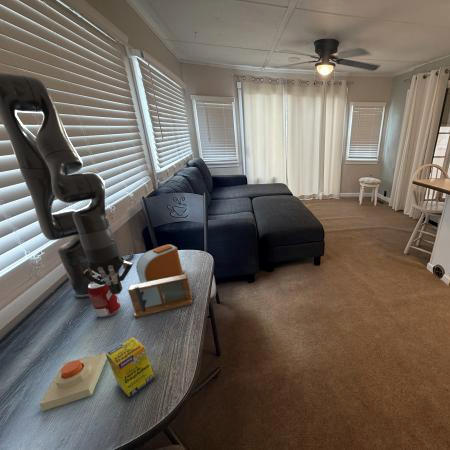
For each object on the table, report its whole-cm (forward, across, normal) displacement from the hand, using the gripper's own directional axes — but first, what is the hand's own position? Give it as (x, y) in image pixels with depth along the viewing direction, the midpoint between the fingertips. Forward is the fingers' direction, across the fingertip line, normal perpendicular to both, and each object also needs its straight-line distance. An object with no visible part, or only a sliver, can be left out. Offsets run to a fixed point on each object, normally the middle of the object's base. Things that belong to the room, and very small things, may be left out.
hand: (117, 292), depth 75 cm
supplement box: (+12, -8, +26) cm, 30 cm away
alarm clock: (+12, -8, -24) cm, 28 cm away
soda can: (+12, +7, -8) cm, 16 cm away
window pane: (+10, -7, -2) cm, 13 cm away
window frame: (+12, -11, -4) cm, 16 cm away
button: (+8, +6, +20) cm, 22 cm away
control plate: (+12, +6, +20) cm, 24 cm away
